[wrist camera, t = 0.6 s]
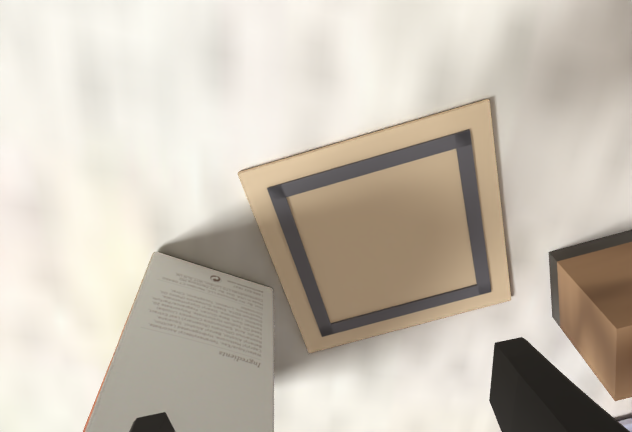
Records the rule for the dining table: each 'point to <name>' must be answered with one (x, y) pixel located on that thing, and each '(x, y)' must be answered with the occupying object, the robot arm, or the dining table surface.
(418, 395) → the dining table surface
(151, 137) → the dining table surface
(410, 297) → the card sheet
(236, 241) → the dining table surface
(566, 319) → the stamp
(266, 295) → the small box
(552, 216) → the dining table surface
